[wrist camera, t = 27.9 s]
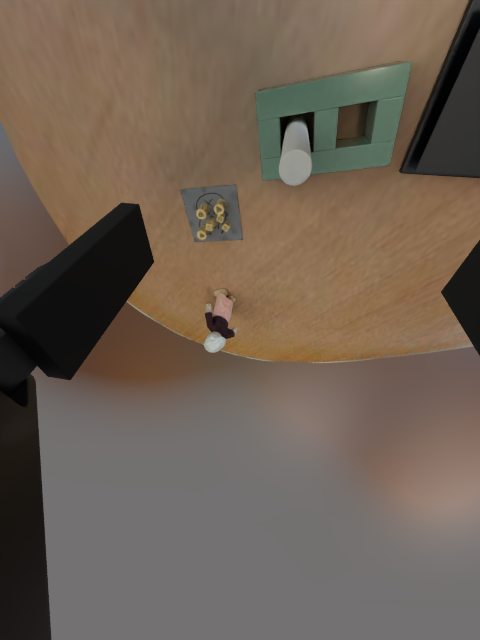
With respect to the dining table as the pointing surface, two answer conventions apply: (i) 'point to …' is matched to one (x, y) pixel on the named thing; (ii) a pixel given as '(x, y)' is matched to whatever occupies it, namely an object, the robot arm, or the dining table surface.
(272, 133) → the pen stand
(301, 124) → the gray cylindrical rod
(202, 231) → the dice set
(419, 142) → the tablet
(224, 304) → the grandmother figurine
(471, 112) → the screen
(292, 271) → the dining table surface
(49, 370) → the robot arm
